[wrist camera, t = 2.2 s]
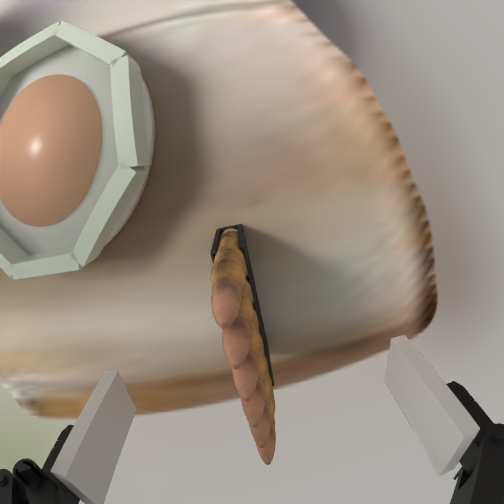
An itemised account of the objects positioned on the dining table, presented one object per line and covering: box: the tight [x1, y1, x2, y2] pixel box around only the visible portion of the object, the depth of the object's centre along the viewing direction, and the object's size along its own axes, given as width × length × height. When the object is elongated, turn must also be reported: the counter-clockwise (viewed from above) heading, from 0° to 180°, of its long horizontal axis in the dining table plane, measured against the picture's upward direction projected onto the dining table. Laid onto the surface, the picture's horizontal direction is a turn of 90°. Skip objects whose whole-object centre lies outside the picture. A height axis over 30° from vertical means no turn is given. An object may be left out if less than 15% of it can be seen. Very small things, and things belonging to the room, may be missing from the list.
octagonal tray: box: [0, 21, 155, 280], centre depth 16 cm, size 19×19×4 cm
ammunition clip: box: [211, 224, 276, 465], centre depth 16 cm, size 11×2×12 cm, turn 11°
